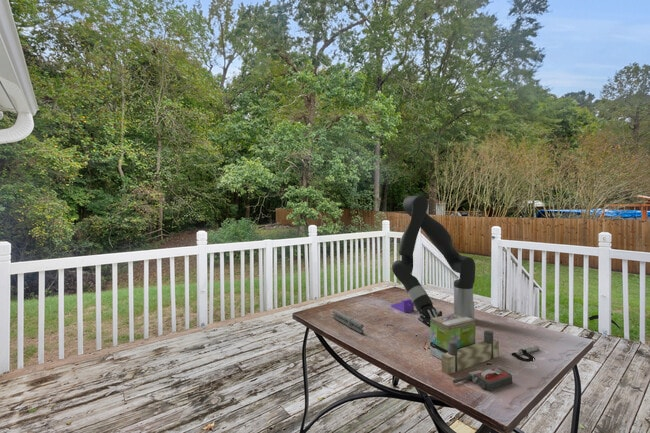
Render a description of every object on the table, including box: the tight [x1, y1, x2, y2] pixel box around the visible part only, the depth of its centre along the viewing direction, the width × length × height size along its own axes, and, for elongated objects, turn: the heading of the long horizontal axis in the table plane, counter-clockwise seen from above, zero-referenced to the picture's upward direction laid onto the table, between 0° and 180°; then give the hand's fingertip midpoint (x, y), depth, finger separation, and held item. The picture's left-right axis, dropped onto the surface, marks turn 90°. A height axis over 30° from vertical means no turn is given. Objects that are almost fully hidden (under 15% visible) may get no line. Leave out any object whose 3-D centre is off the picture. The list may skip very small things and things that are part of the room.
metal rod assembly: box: [332, 309, 364, 335], centre depth 163 cm, size 26×3×5 cm, turn 29°
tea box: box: [429, 312, 477, 361], centre depth 129 cm, size 15×10×15 cm
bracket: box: [390, 298, 415, 313], centre depth 188 cm, size 12×7×7 cm, turn 25°
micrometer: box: [511, 345, 540, 363], centre depth 127 cm, size 15×7×2 cm, turn 112°
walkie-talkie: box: [452, 367, 513, 392], centre depth 108 cm, size 9×4×20 cm
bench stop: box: [441, 329, 500, 375], centre depth 122 cm, size 28×3×10 cm, turn 118°
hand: (441, 334), depth 135 cm, fingers closed
